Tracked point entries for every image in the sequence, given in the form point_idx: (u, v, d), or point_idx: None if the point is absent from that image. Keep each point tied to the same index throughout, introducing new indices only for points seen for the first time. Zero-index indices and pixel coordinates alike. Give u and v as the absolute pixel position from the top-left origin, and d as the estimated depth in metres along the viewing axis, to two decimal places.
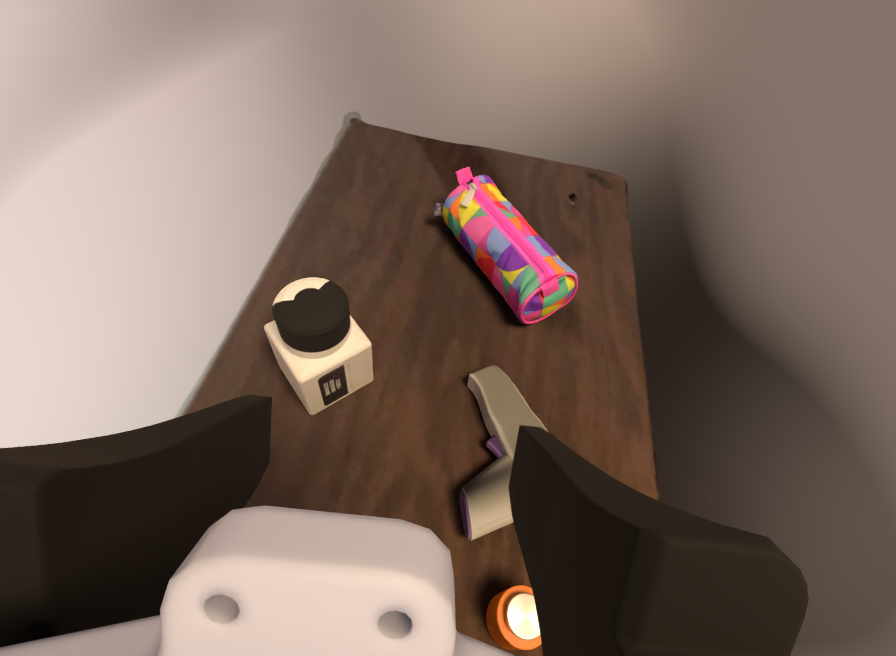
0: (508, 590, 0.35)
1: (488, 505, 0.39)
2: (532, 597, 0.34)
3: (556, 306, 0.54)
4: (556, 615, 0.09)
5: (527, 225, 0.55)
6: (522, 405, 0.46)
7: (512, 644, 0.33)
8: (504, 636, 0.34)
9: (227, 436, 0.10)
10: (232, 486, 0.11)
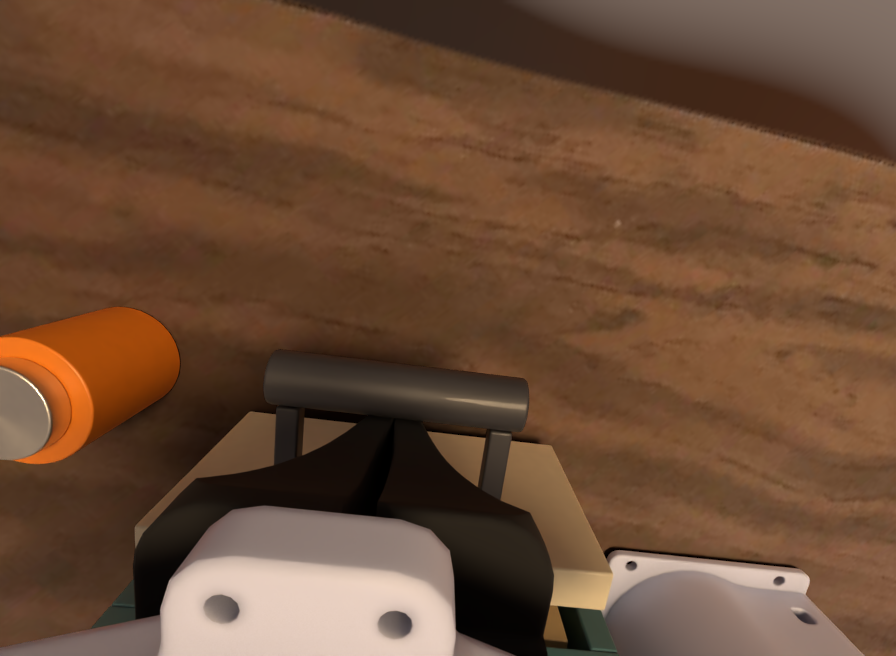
0: None
1: None
2: None
3: None
4: None
5: None
6: None
7: (86, 435, 0.14)
8: (73, 451, 0.14)
9: (381, 453, 0.10)
10: None
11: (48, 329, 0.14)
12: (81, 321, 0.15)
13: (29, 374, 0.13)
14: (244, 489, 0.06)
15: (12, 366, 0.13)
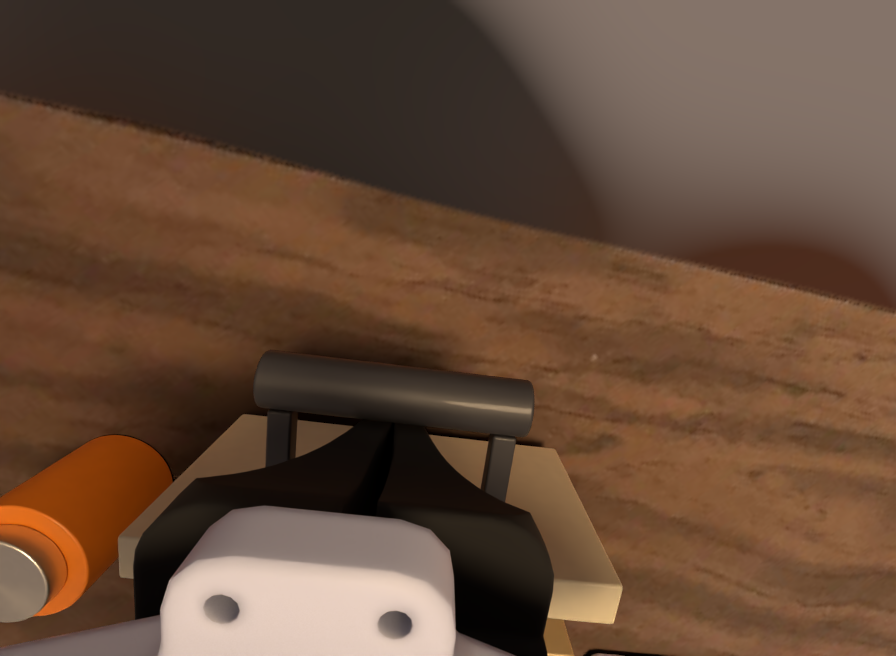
0: None
1: None
2: None
3: None
4: None
5: None
6: None
7: (81, 590, 0.15)
8: (69, 604, 0.15)
9: (381, 453, 0.10)
10: None
11: (45, 487, 0.15)
12: (77, 467, 0.16)
13: (26, 546, 0.14)
14: (244, 489, 0.06)
15: (10, 539, 0.14)
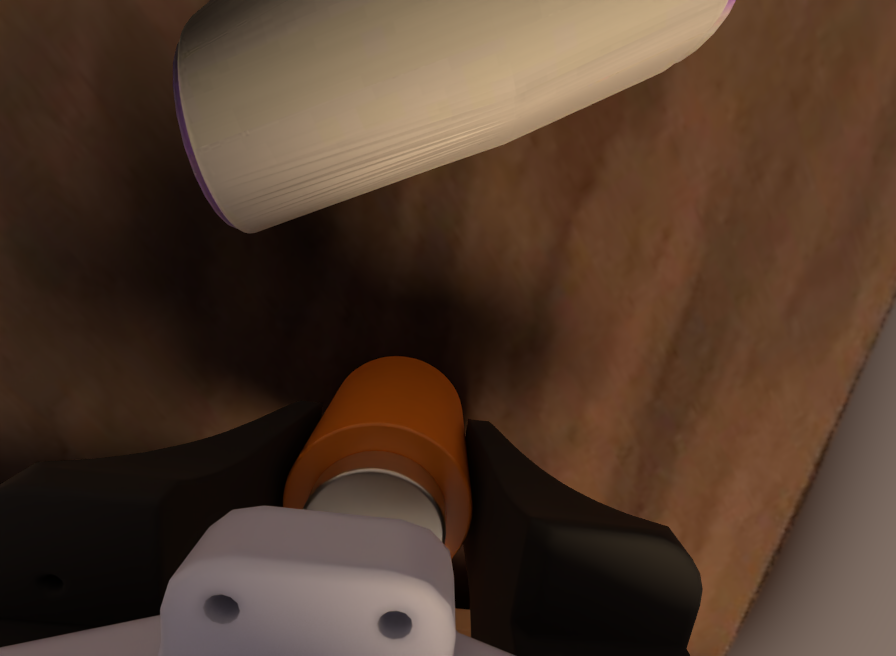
0: (329, 437, 0.09)
1: (271, 106, 0.08)
2: (403, 485, 0.09)
3: None
4: (480, 608, 0.09)
5: None
6: None
7: None
8: None
9: (289, 443, 0.10)
10: None
11: None
12: None
13: None
14: (72, 471, 0.06)
15: None
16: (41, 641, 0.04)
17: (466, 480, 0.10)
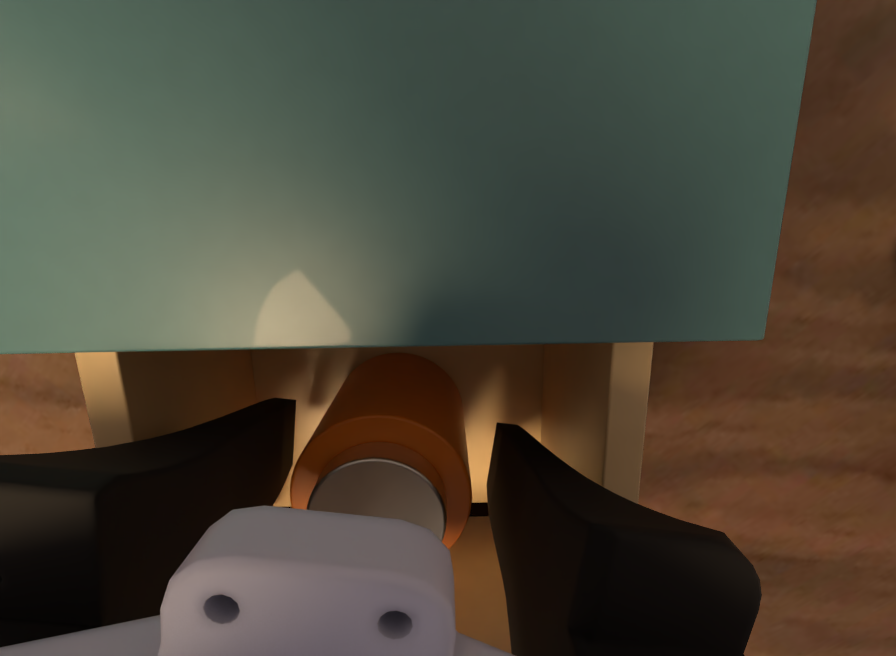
0: (334, 429, 0.10)
1: None
2: (406, 474, 0.09)
3: None
4: (522, 612, 0.09)
5: None
6: None
7: None
8: None
9: (257, 439, 0.10)
10: (260, 489, 0.11)
11: None
12: None
13: None
14: (11, 465, 0.06)
15: (441, 537, 0.10)
16: (41, 641, 0.04)
17: (466, 470, 0.10)
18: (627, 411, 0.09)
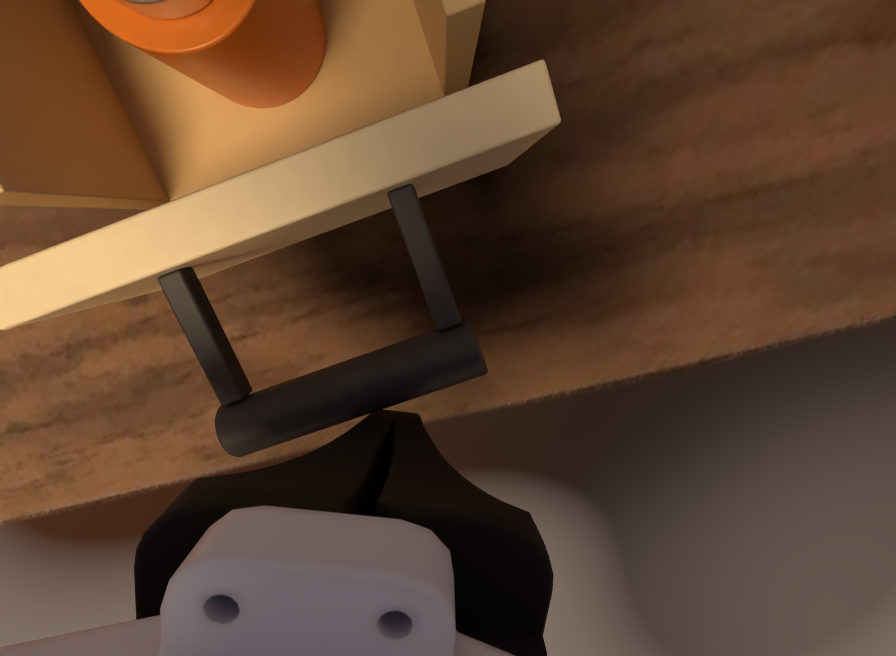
0: None
1: None
2: None
3: None
4: None
5: None
6: None
7: (148, 47, 0.09)
8: (112, 29, 0.09)
9: (382, 453, 0.10)
10: None
11: None
12: None
13: None
14: (245, 489, 0.06)
15: None
16: (41, 641, 0.04)
17: None
18: None
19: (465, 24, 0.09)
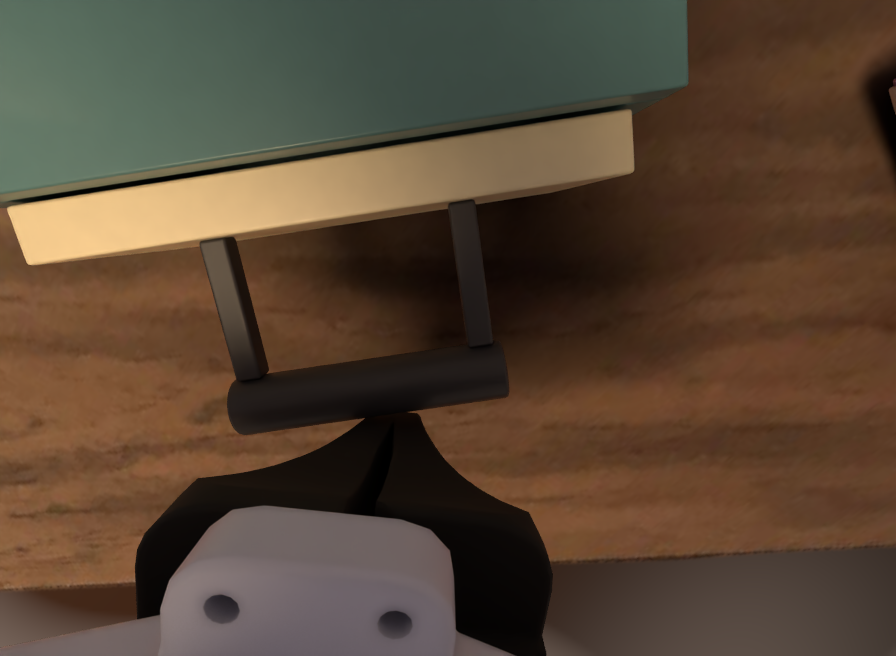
0: None
1: None
2: None
3: None
4: None
5: None
6: None
7: None
8: None
9: (382, 453, 0.10)
10: None
11: None
12: None
13: None
14: (246, 489, 0.06)
15: None
16: (41, 641, 0.04)
17: None
18: None
19: None
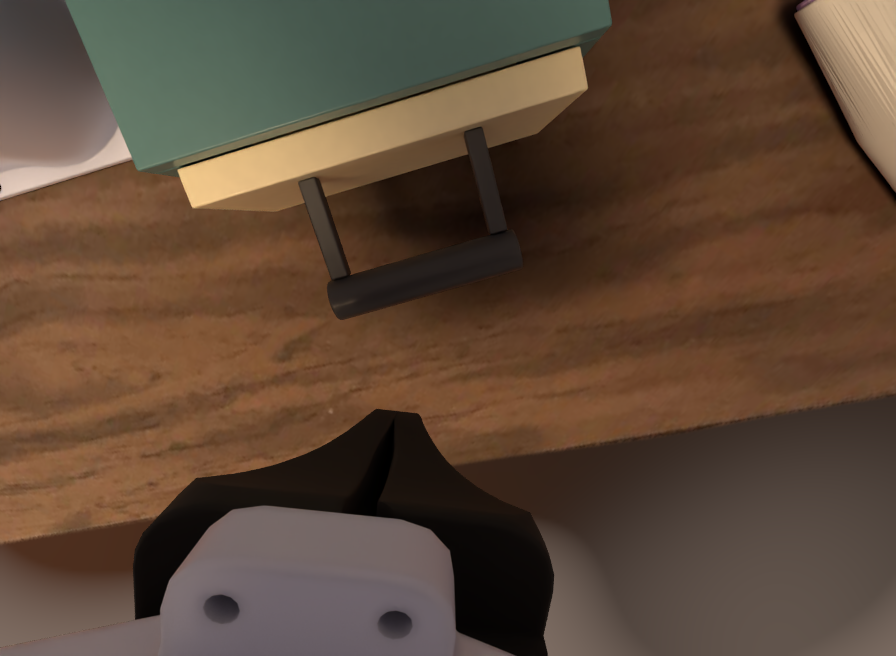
0: None
1: None
2: None
3: None
4: None
5: None
6: None
7: None
8: None
9: (381, 453, 0.10)
10: None
11: None
12: None
13: None
14: (244, 489, 0.06)
15: None
16: (41, 641, 0.04)
17: None
18: None
19: None
